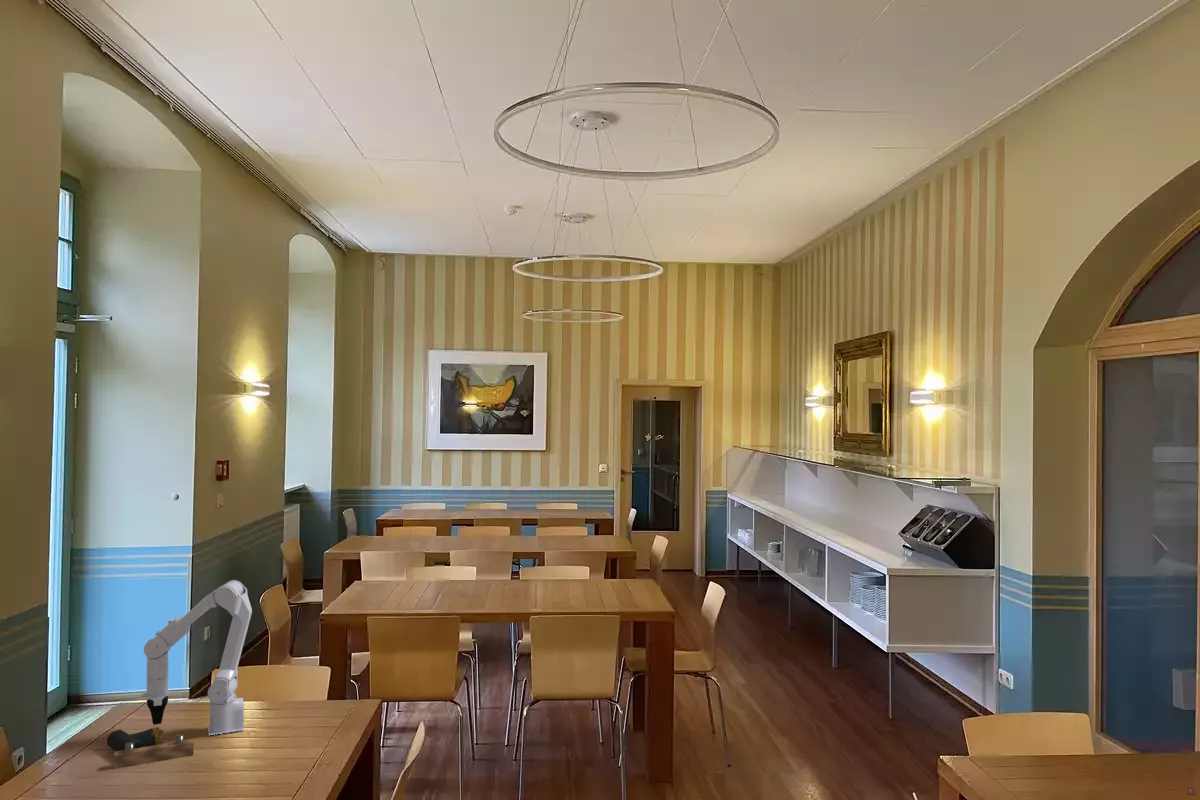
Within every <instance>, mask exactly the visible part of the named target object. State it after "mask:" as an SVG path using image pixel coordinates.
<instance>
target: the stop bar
mask: <svg viewBox="0 0 1200 800" xmlns="http://www.w3.org/2000/svg"><path fill="white" fill-rule="evenodd" d="M174 737H175V738H174V739H175V741H172V742H167V743H163V744H159V745H153V746H147V747H141V748H135V749H134V743H133V742H130V743H127V744H125V750H123V751H117V752H116V751H114V754H113V755H114V756H113V769H114V768H117V769H121V768H120V767H123V768H128V767H132V766H133V767H134V766H139V765H145V764H144V763H146V764H150V763H151V762H152V763H157V762H163V761H169V760H173V758H174V759H179V758H178V757H180V758H184V757H185V756H186V757H190V755H192V756H194V755H193V754H194V753H195V752H194V750H195V749H194V748H195V745H194V744H195V743H194V741H195V740H194V739H193V738H191V739H185V738H184V734H181V733H179V734H176V735H175V736H174ZM184 739H185V740H184ZM168 759H169V760H168ZM156 761H157V762H156Z"/></svg>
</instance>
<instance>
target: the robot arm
mask: <svg viewBox="0 0 1200 800" xmlns="http://www.w3.org/2000/svg"><path fill="white" fill-rule="evenodd" d="M218 606H219V607H221V608H223V609H225V610H226V611H227V612H228V613H229V614H230V615H231V616H232V619H231V623H230V627H229V631H228V634H227V638H226V641H225V646H224V650H223V653H222V657H221V661H220V665H219V668H218V670H217V673H216V675H215V676H214V680H213V682H212V684H211V685H210V686H209V688H208V689H207V696H208V699H209V726H207V728H208V729H207V734H208V736H209V737H211V736H210V735H214V736H218V735H217V734H220V735H224V734H223V733H226V734H230V732H233V733H238V731H239V732H243V731H244V730H245V729H244V728H245V727H244V723H245V714H244V713H245V708H244V707H245V705H244V704H245V703H244V698H243V697H237V695H236V693H235V692H236V691H237V689H238V687H239V679H238V674H239V670H238V668H239V663H240V660H241V655H242V651H243V647H244V644H245V639H246V636H247V633H248V629H249V625H250V621H251V619H252V618H251V617H252V614H253V609H252V606H251V602H250V599H249V595H248V589H247V588H246V587H245V585H244V584H243V583H242V582H241V581H239V580H237V579H232V580H229V581H227V582H226V583H224V584H222V585H221V586H219V587H217V588H216V589H215V590H213V591H212V592H210V593H208V594H207V595H206V596H204V597H203V598H202V599H201V600H200V601H199V602H198V603H197V604H196V605H195V606H193V608H192V609H190V610H189V611H188V612H187V613H186V614H185V615H184V616H183V617H180V616H179V617H175V618H171V619H169V621H167V625H166V626H165V627H164V628H162V629H161V630H160V631H159V630H158V631H156V632H155V636H154V637H153V638H150V639H148V640H147V642H146V643H145V644H144V647H143V652H144V655H145V656H146V693H145V692H144V693H142V694H141V697H142V698H147V700H146V706H147V707H148V709H149V711H150V715H151V720H152V725H154V726H155V725H161V724H162V721H163V717H164V712H165V709H166V706H167V704H168V702H169V694H170V690H169V651H170V650H171V648H172V647H174V646H175V645H176V644H177V643H178V642H179V641H181V639H183V638H184V637H185V636H187V634H188V633H190V632H191V625H192V624H193V623H195V621H197V620H198V619H199V618H200V617H201V616H202V615H203V614H205V613H206V612H208V611H209V610H210V609H213V608H218ZM236 731H237V732H236ZM215 734H216V735H215Z"/></svg>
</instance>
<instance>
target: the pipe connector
mask: <svg viewBox="0 0 1200 800" xmlns="http://www.w3.org/2000/svg"><path fill="white" fill-rule="evenodd" d="M160 736H164V729H162V728H161V729H160V727H158V726H156V727H152V728H149V729H146V730H143V731H139V732H134V733H132V734H129V733H128V732H126V731H124V730H122V729H116V730H113V731H112V732H111V733H110V734H109V735H108V737H107V739H106V744H107V747H109V748H110V749H111V750H113V751H114V752H117V751H123V750H125V744H127V743H130V742H133V743H134V749H135V748H141V747H147V746H153V745H159V744H164V739H163V738H160Z"/></svg>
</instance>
